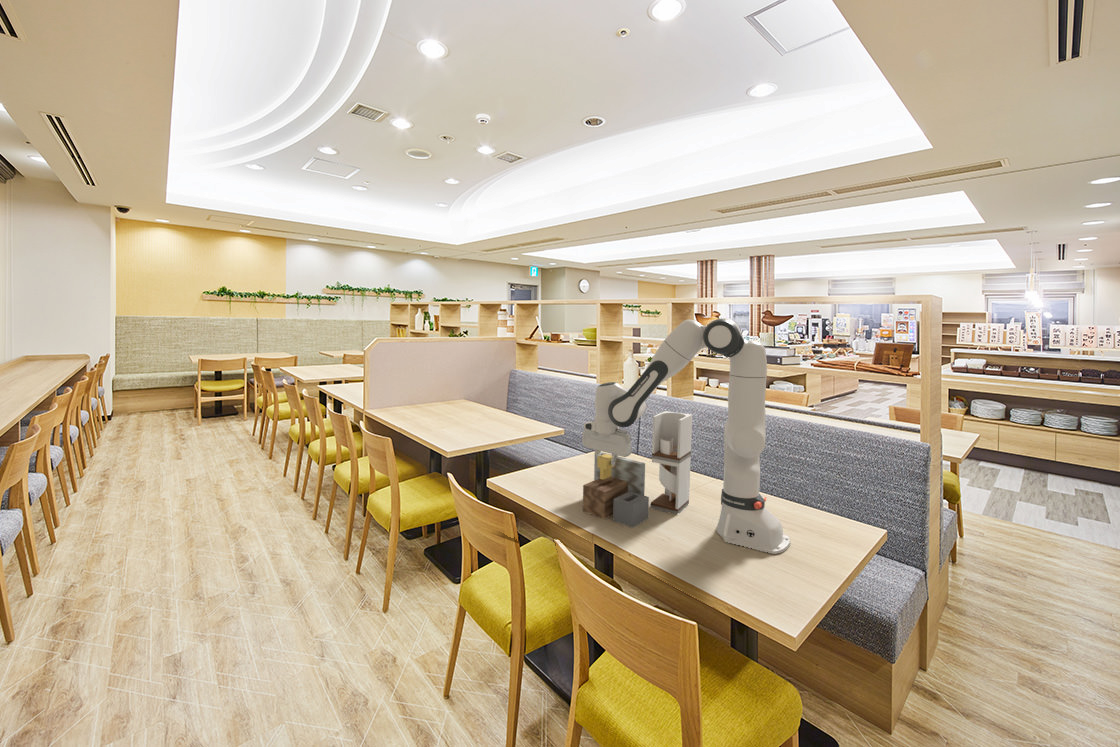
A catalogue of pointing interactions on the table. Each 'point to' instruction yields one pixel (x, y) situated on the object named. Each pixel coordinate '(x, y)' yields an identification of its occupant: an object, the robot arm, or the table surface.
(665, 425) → the display case
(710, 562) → the table surface
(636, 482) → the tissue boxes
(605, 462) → the yellow tabbed block
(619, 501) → the dark gray slotted block
